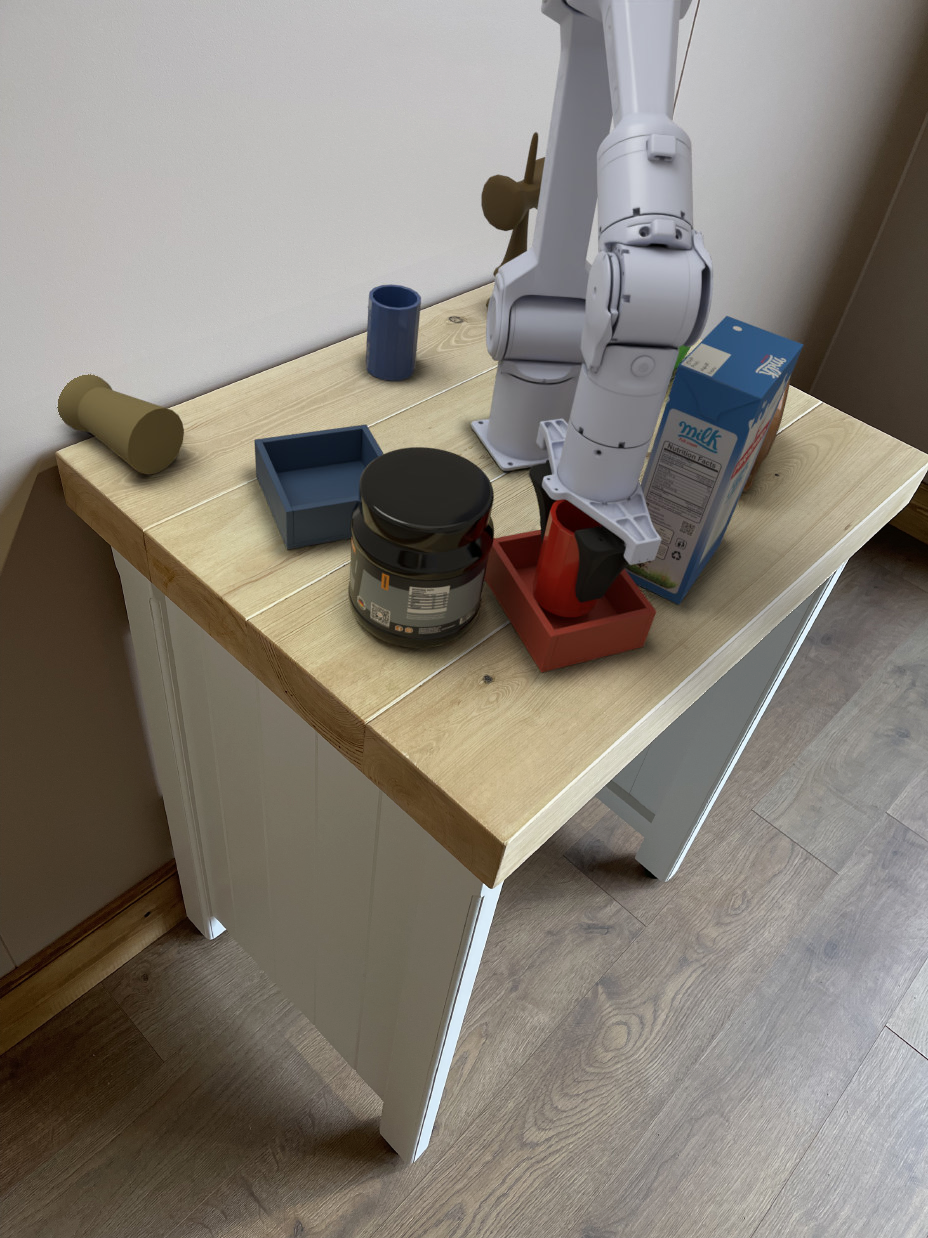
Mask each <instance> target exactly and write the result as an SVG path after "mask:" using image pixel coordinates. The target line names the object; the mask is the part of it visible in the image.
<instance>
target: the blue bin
mask: <svg viewBox="0 0 928 1238" xmlns="http://www.w3.org/2000/svg"><path fill="white" fill-rule="evenodd" d="M253 443H254V460H255V477H256V479H257V481H258V485H259V486H260V489H261V491H262V493H263V496H264V498H265V501H266V503H267V505H268V508H269V510H270V513H271V515H272V517H273V519H274V522H275V524H276V527H277V530H278V531H279V534H280V536H281V539H282V541H283V544H284V546H285V549H286V550H292V549H293V550H294V549H297V548H298V549H299V548H305V547H309V546H315V545H319V544H320V545H321V544H325V543H331V542H337V541H342V540H349V539H351V531H350V519H351V514H352V511H353V508H354V506H355V504H356V503H357V501H358V497H359V481H360V477H361V474H362V472H363V471H364V469H365V468H366V466H367V465H368V464H369V463H370V462H372V461H373V460H374V459H376V458H377V457H379V456H381V455H383V454H384V452H383V450H382V449H381V447H380V445H379V443H378V442H377V440H376V438H375V436H374V435H373V433H372V432H371V430H370V428H369V426H368V424H367V423H366V424H359V425H357V424H356V425H352V426H351V425H350V426H343V427H336V428H328V429H322V430H321V429H320V430H314V431H307V432H299V433H292V434H285V435H279V436H278V435H276V436H270V437H269V436H268V437H263V438H255V439H254V440H253Z"/></svg>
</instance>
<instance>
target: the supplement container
mask: <svg viewBox="0 0 928 1238" xmlns="http://www.w3.org/2000/svg"><path fill="white" fill-rule="evenodd" d="M494 499H495V492H494V487H493V484H492V482H491V480H490V478H489V477H488V476H487V474H486V473H485V471H483V470H482V469H481V468H480V467H479V466H478V465H476V464H475V462H473V461H471V460H470V459H467V458H466V457H464V456H462V455H459V454H458V453H454V452H452V451H449V450H446V449H440V448H436V447H424V446H413V447H411V446H410V447H404V448H398V449H394V450H391V451H388V452H385V453H383V455H381V456H379V457H377V458H376V459H374V460H373V461H372V462H370V463H369V464H368V465H367V466H366V468H365V469H364V471H363V472H362V474H361V477H360V481H359V497H358V501H357V503H356V504H355V506H354V508H353V511H352V514H351V519H350V531H351V538H350V560H349V563H350V564H349V565H350V566H349V581H348V586H347V597H348V604H349V607H350V610H351V611H352V614H353V617H354V618H355V619H356V621H357V622H358V623H359V625H360V626H362V627H363V628H364V630H365V631H367V632H368V633H370V634H371V635H373V636H374V637H376V638H377V639H379V640H381V641H384V642H386V643H389V644H392V645H394V646H399V647H403V648H412V649H425V648H428V649H429V648H434V647H439V646H443V645H445V644H448V643H450V642H453V641H455V640H456V639H458V638H460V637H461V636H463V635H464V634H465V633H466V632H467V631H468V630H470V628H471V627H472V626H473V625H474V623H475V622H476V620H477V618H478V616H479V614H480V610H481V606H482V595H483V589H484V584H485V574H486V568H487V563H488V557H489V552H490V550H491V548H492V544H493V540H494V538H495V525H494V521H493V518H492V511H493V506H494Z"/></svg>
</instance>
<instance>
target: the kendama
mask: <svg viewBox="0 0 928 1238" xmlns="http://www.w3.org/2000/svg"><path fill="white" fill-rule="evenodd" d="M538 146H539V133H538V132H537V131H535V132H534V133H533V134H532V137H531V140H530V145H529V150H528V155H527V159H526V165H525V171H524V176H523V179H522V180H520V181H516V180H514V179H513V178H512V177H510V176H507V175H503V174H494V175H492V176H489V178H488V179H487V180H486V181H485V183H484V184H483V187H482V192H481V195H480V196H481V197H480V199H481V200H480V202H481V205H480V206H481V209H482V214H483V216H484V219H486V221H487V222H488V224H489V225H491V226H492V227H493V228H495V229H496V230H499V231H503V232H509V231H511V234H510V238H509V241H508V245H507V248H506V251H505V254H504V257H503V259H502V261H501V263H500V264H499V265H498V266H497V267H496V268H494V270H493V276H494V277H495V276H496V274H497V273H498V269H499V268H500V267H501V266H503V265H504V264H506V263H507V262H509V261H511V260H513V259H514V258H516V257H518V256H519V255H521V254H523V253H524V252H526V251H528V235H529V220H530V219H529V218H530V210H533V209H535V210H537V209H538V203H539V196H540V189H541V183H542V176H543V169H544V162H545V156H544V157H541V158H538V159H537V157H538V156H537V155H538V148H539V147H538ZM489 301H490V297H489V298H488V299H487V301H486V303H485V307H486V308H487V309H488V306H489Z"/></svg>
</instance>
